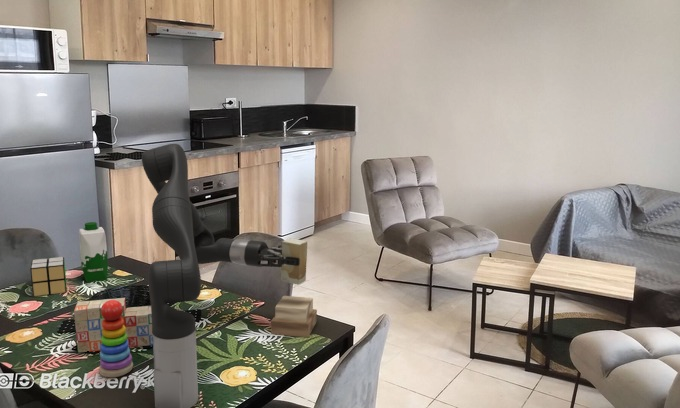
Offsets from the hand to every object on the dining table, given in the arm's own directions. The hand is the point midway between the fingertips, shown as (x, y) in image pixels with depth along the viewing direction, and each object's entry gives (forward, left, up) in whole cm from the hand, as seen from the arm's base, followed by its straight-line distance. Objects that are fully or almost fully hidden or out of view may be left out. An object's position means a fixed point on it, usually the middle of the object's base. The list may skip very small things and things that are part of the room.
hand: (302, 259), depth 165 cm
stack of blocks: (-20, +46, -22) cm, 55 cm away
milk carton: (+26, +84, -22) cm, 90 cm away
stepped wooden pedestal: (0, +3, -21) cm, 22 cm away
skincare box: (0, +3, -7) cm, 8 cm away
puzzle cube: (+12, +92, -22) cm, 95 cm away
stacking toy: (-34, +40, -22) cm, 56 cm away
